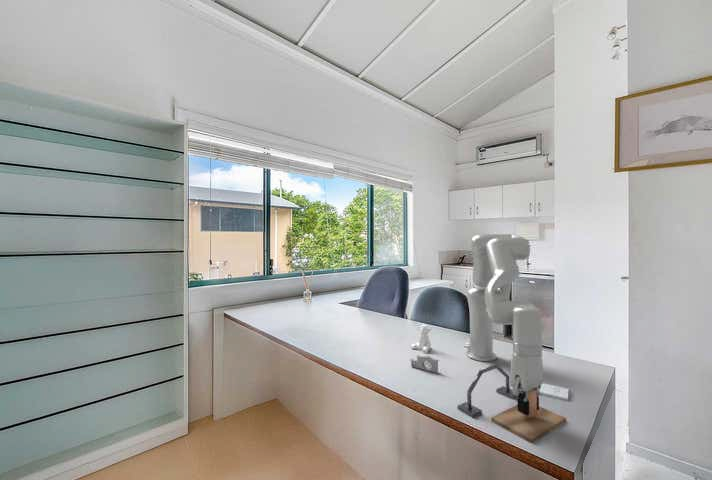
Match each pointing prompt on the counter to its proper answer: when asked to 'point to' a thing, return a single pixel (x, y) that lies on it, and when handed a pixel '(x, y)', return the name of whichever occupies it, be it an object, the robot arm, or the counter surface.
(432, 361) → the garden wall model
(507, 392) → the grey cabinet handle
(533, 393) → the peach domed cylinder
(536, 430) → the walnut board
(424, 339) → the seated beast figurine
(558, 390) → the external hard drive
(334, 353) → the counter surface
